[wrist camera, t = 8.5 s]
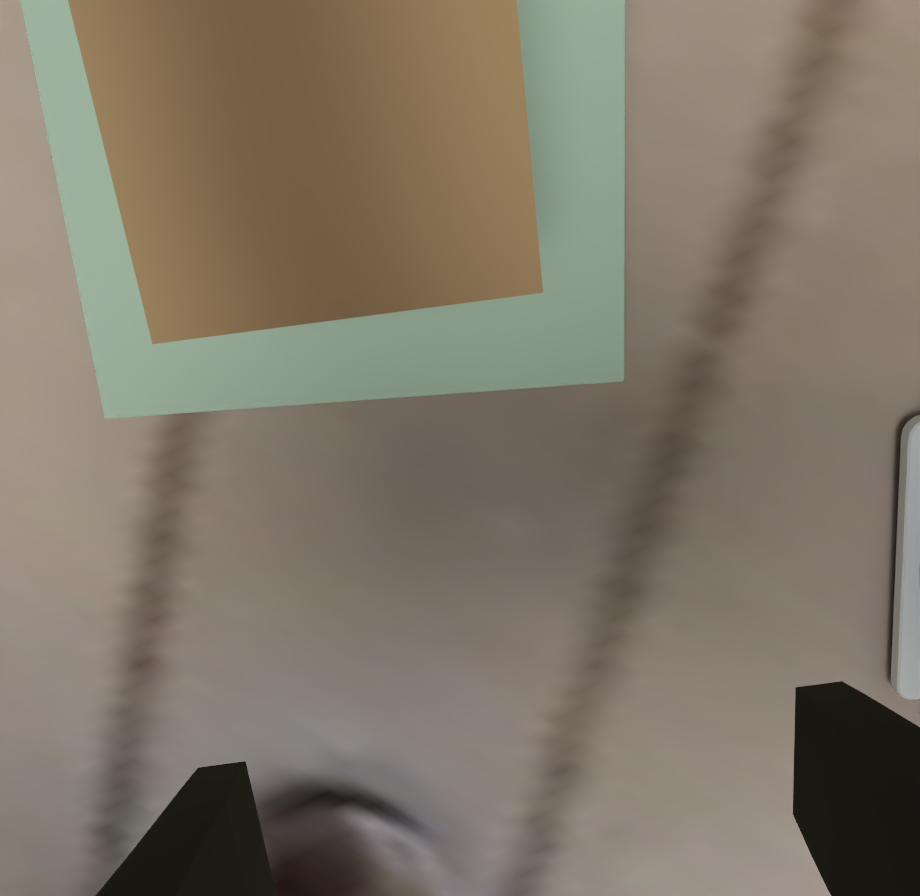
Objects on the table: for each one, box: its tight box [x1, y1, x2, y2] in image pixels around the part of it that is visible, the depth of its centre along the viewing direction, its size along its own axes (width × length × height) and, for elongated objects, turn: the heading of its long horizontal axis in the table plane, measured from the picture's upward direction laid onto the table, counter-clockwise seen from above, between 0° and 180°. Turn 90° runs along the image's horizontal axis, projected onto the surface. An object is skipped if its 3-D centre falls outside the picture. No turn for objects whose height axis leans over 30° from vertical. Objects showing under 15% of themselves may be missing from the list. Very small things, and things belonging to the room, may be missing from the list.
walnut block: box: [68, 0, 543, 344], centre depth 12 cm, size 5×5×5 cm
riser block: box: [20, 0, 625, 419], centre depth 16 cm, size 10×10×4 cm
